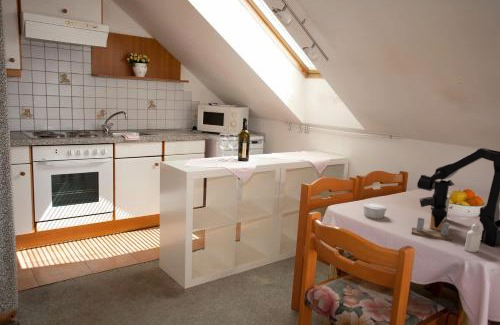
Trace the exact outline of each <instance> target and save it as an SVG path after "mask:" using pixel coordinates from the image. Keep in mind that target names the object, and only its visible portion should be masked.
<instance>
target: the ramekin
mask: <svg viewBox="0 0 500 325" xmlns="http://www.w3.org/2000/svg"><path fill="white" fill-rule="evenodd" d="M386 211H387V206H386V205H384V204H382V203H377V202H376V203H375V202H364V203H363V215H364V216H365V217H368V218H370V219H376V218H377V219H383V218H384V217H385V214H386ZM377 219H376V220H377Z"/></svg>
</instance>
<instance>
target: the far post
mask: <svg viewBox="0 0 500 325" xmlns="http://www.w3.org/2000/svg"><path fill="white" fill-rule="evenodd" d="M424 225H425V218H421V217H417V223H416V227H415V228H416V231H418V232H423V229H424Z"/></svg>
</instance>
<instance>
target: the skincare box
mask: <svg viewBox="0 0 500 325" xmlns="http://www.w3.org/2000/svg"><path fill="white" fill-rule="evenodd" d="M447 197H448V198H447V201H446V208H444V209H446V211H447V215H448V212H449V205H450V200H451V195H449V194H448V195H447ZM446 220H448V216H447V217H444V220H443V222H446Z"/></svg>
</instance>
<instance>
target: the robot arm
mask: <svg viewBox="0 0 500 325" xmlns="http://www.w3.org/2000/svg"><path fill="white" fill-rule="evenodd" d="M481 159H484V160H487V161H491V162H493V164H492V166H493V171H494V173H493V177H492V180H491V181H492V182H491V185H490V189H489V192H488V193H489V194H488V198H487V202H486V205H484V206H482V207H480V209H479V214H478V216H477V217H478V219H479V222H480V223H481V225H482V228H483V229H482V231H481V240H480V243H483V244H485V245H487V246H489V247H500V151H499V150H494V149H489V148H487V147H486V148H485V147H480V148H477V149H476V150H474V151H473V152H470V154H468V155H465V156H463V157H461V158H460V159H458V160H456V161H454V162H452V163H449V164H446V165H442V166H440V167H437V168H436V169H435V171H434V174H432V175H431V176H430V175H429V176H428V175H426V174H421V175H420V177H419V179H418V180H417V185H416V186H417V188H418V189H419V190H423V191H429V192H432V191H433V190H434V191H433V194H432V196H427V197H426V196H425V197H422V198H419V204H420V207H421V208H425V207H428V206H430V210H431V211H430V215H431V214H432V215H433V216H434V221H435V227H436V228H437V227H438V226H439V225H440V223H441V222H442V220H443V219H444V217H447V218H448V214H447V211H446V209H444V208H446V201H447V198H448V197H447V195H449V189H450V188H449V187H452V186H455V183H454V182H453V181H452V180H451V179H450V178H452V177H453V176H454V175H455V174H457V173H458V172H459V171H461V169H464V168H465V167H467V166H469V165H472V164H473V163H475V162H477V161H479V160H481ZM447 179H449V180H447Z"/></svg>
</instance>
